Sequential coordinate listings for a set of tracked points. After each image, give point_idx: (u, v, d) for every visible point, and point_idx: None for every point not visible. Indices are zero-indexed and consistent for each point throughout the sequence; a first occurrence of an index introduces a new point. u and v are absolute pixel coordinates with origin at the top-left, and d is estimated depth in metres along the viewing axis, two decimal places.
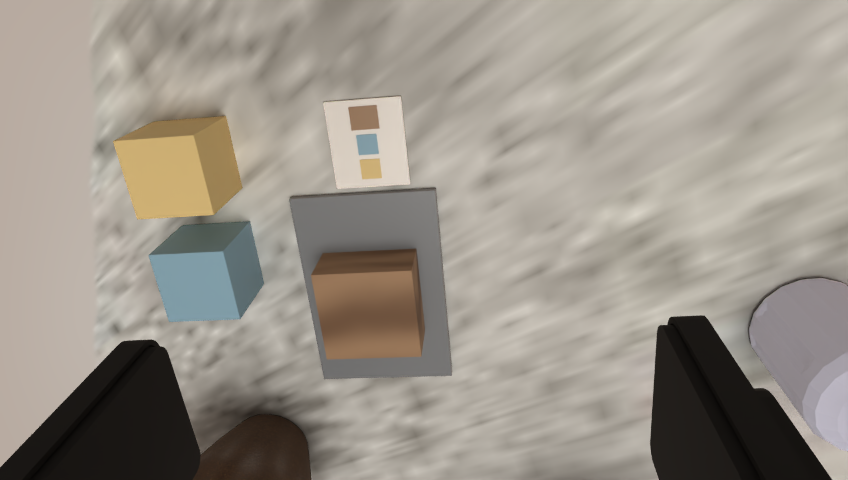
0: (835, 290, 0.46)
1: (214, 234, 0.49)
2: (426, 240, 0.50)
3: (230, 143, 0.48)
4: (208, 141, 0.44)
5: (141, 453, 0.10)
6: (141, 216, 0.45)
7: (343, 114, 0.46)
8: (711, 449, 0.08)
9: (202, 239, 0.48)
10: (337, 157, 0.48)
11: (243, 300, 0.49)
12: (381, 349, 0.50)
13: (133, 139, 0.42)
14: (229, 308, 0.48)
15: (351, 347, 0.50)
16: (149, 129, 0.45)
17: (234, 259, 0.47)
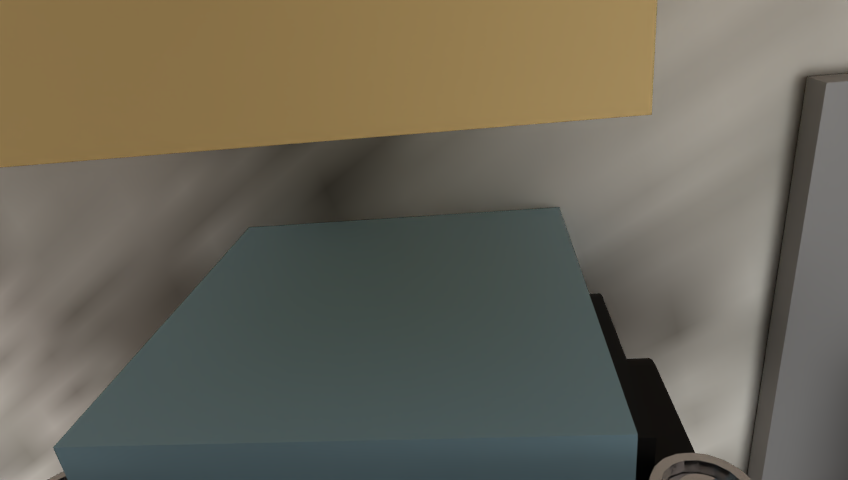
0: None
1: (437, 274, 0.09)
2: None
3: None
4: None
5: None
6: None
7: None
8: None
9: (390, 312, 0.08)
10: None
11: None
12: None
13: None
14: None
15: None
16: None
17: None
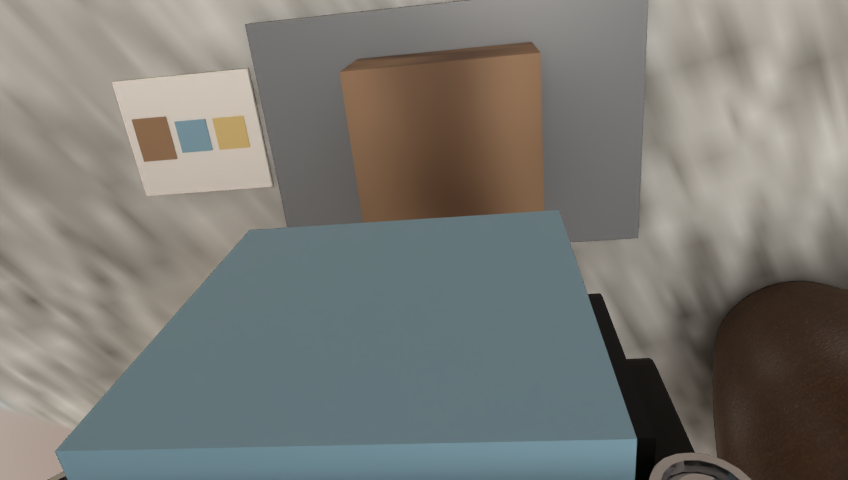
0: None
1: (437, 278, 0.09)
2: (340, 39, 0.28)
3: None
4: None
5: None
6: None
7: (157, 168, 0.31)
8: None
9: (390, 316, 0.08)
10: (223, 182, 0.31)
11: None
12: (522, 136, 0.25)
13: None
14: None
15: (517, 193, 0.26)
16: None
17: None
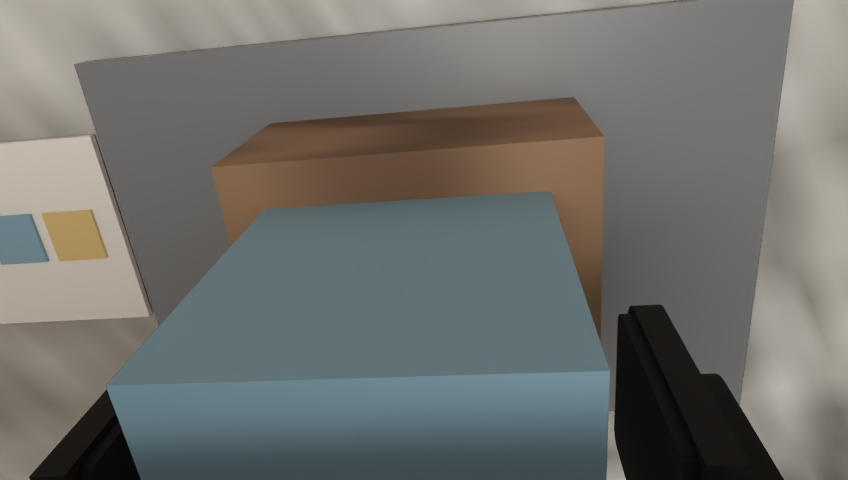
0: None
1: (438, 247, 0.10)
2: (238, 91, 0.16)
3: None
4: None
5: None
6: None
7: None
8: (657, 428, 0.08)
9: (395, 279, 0.09)
10: (71, 308, 0.20)
11: None
12: None
13: None
14: None
15: None
16: None
17: None
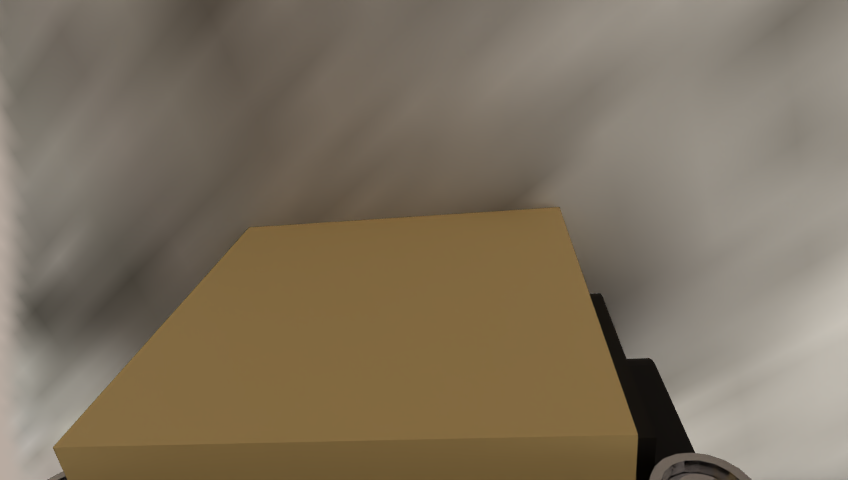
0: None
1: None
2: None
3: None
4: None
5: None
6: None
7: None
8: None
9: None
10: None
11: None
12: None
13: (189, 437, 0.06)
14: None
15: None
16: (253, 300, 0.09)
17: None
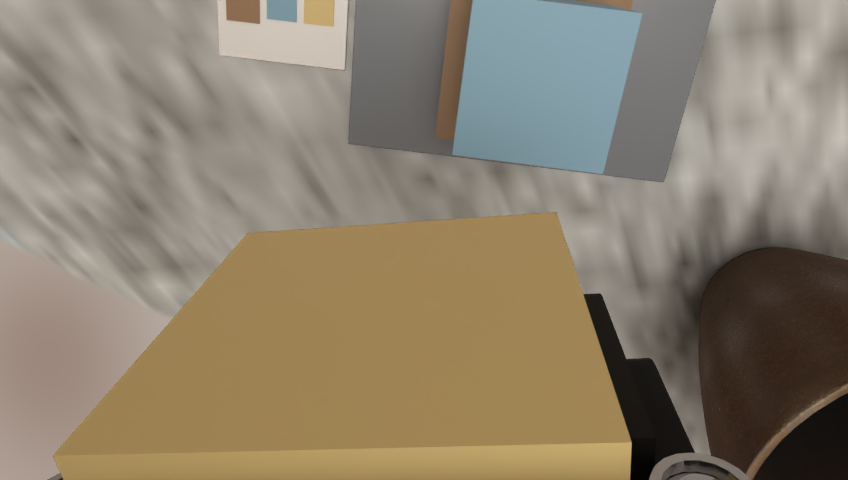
0: None
1: None
2: None
3: None
4: None
5: None
6: None
7: (237, 30, 0.33)
8: None
9: (557, 0, 0.23)
10: (298, 56, 0.33)
11: None
12: None
13: (187, 445, 0.06)
14: (592, 147, 0.23)
15: None
16: (251, 306, 0.09)
17: None
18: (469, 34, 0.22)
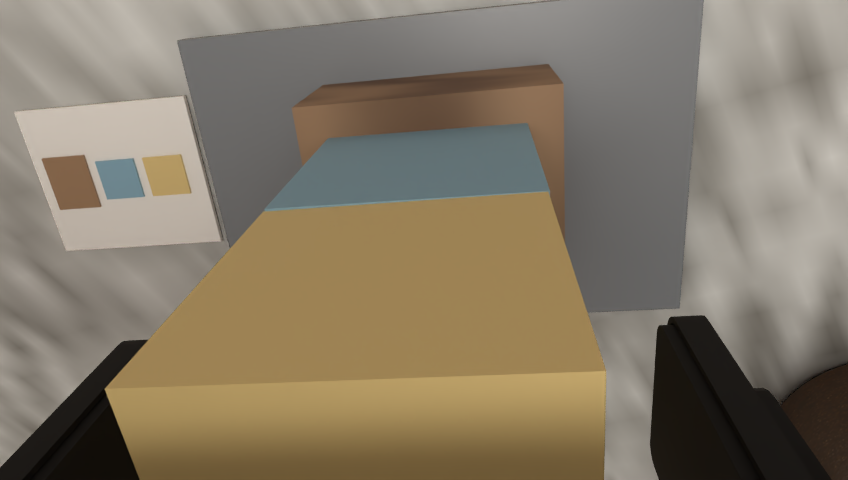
0: None
1: (451, 151, 0.16)
2: (299, 60, 0.21)
3: None
4: None
5: None
6: None
7: (77, 218, 0.25)
8: (711, 449, 0.08)
9: (426, 164, 0.15)
10: (159, 235, 0.25)
11: None
12: None
13: (222, 379, 0.07)
14: None
15: None
16: (271, 271, 0.10)
17: None
18: None
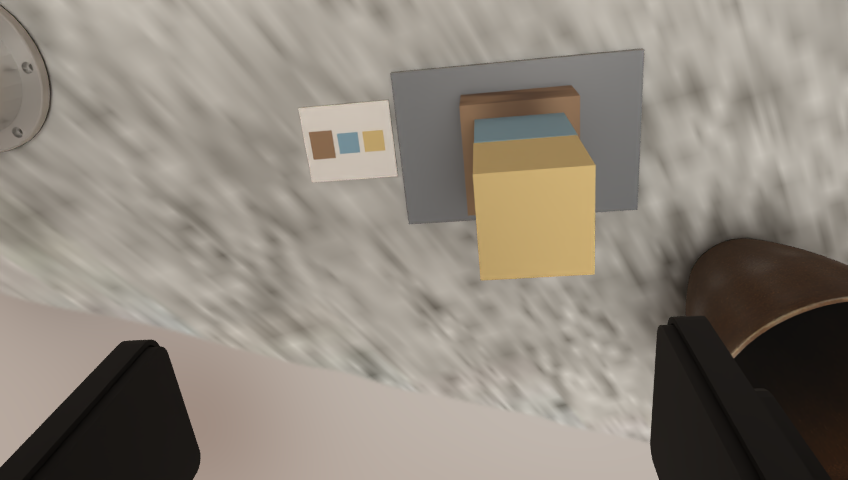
0: None
1: (535, 123, 0.38)
2: (450, 83, 0.44)
3: None
4: None
5: (141, 453, 0.10)
6: (487, 276, 0.32)
7: (321, 164, 0.48)
8: (711, 449, 0.08)
9: (527, 128, 0.37)
10: (364, 173, 0.48)
11: None
12: None
13: (502, 171, 0.30)
14: None
15: None
16: (494, 155, 0.33)
17: None
18: None
